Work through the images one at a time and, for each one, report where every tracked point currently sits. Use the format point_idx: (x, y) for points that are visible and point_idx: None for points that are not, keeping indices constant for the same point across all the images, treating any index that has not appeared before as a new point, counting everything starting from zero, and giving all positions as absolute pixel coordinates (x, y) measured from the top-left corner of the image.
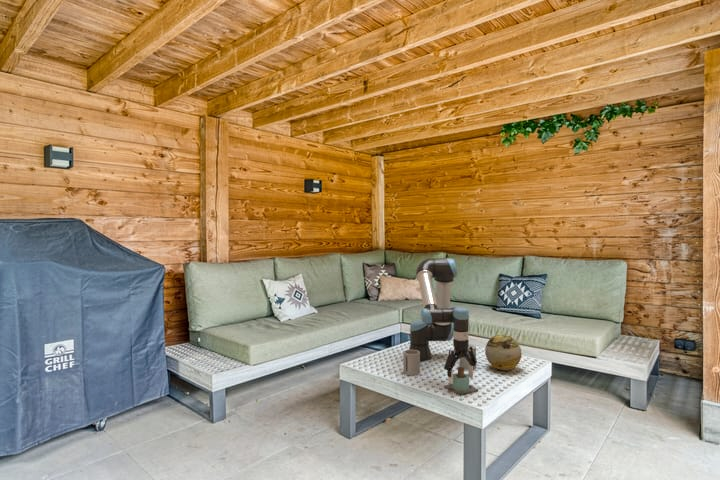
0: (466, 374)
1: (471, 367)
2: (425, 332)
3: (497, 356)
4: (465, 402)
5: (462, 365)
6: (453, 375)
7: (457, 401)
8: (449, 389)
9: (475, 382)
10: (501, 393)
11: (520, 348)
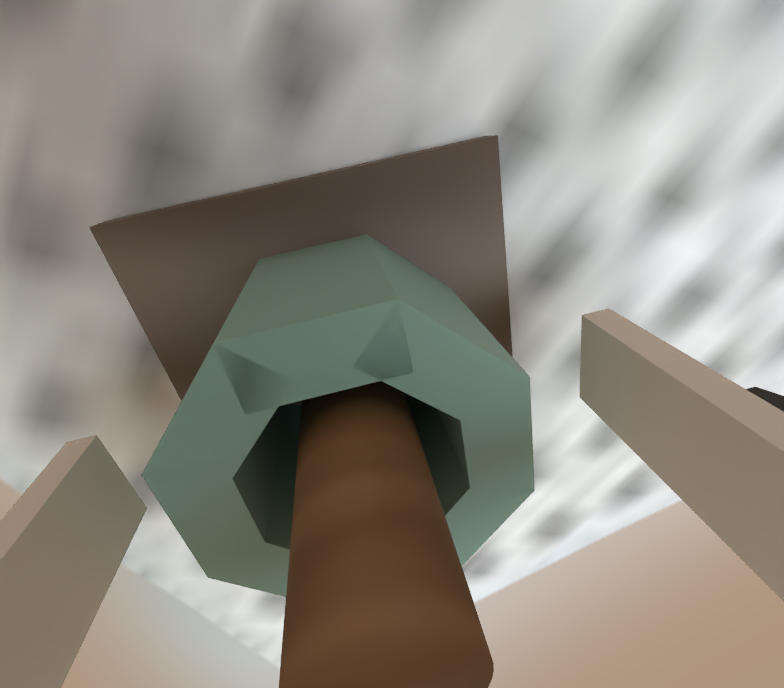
0: (527, 437)
1: (771, 564)
2: None
3: None
4: (235, 601)
5: None
6: (196, 433)
7: (162, 582)
8: (161, 351)
9: (693, 172)
10: (653, 502)
11: None
